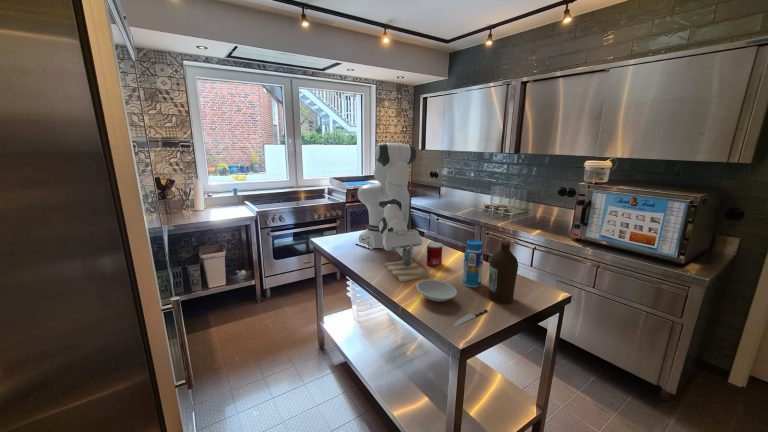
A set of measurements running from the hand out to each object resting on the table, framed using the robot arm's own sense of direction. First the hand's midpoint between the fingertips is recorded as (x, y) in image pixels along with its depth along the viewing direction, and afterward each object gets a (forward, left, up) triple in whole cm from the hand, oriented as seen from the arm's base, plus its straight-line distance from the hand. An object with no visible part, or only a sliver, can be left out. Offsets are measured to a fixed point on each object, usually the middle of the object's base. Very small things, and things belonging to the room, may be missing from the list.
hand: (407, 255), depth 147 cm
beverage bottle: (+31, +4, -9) cm, 33 cm away
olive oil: (+45, -3, -9) cm, 46 cm away
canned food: (+7, +16, -9) cm, 20 cm away
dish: (+23, -18, -9) cm, 31 cm away
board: (-1, 0, -9) cm, 9 cm away
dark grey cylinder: (-1, 0, -5) cm, 5 cm away
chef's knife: (+39, -23, -9) cm, 46 cm away
